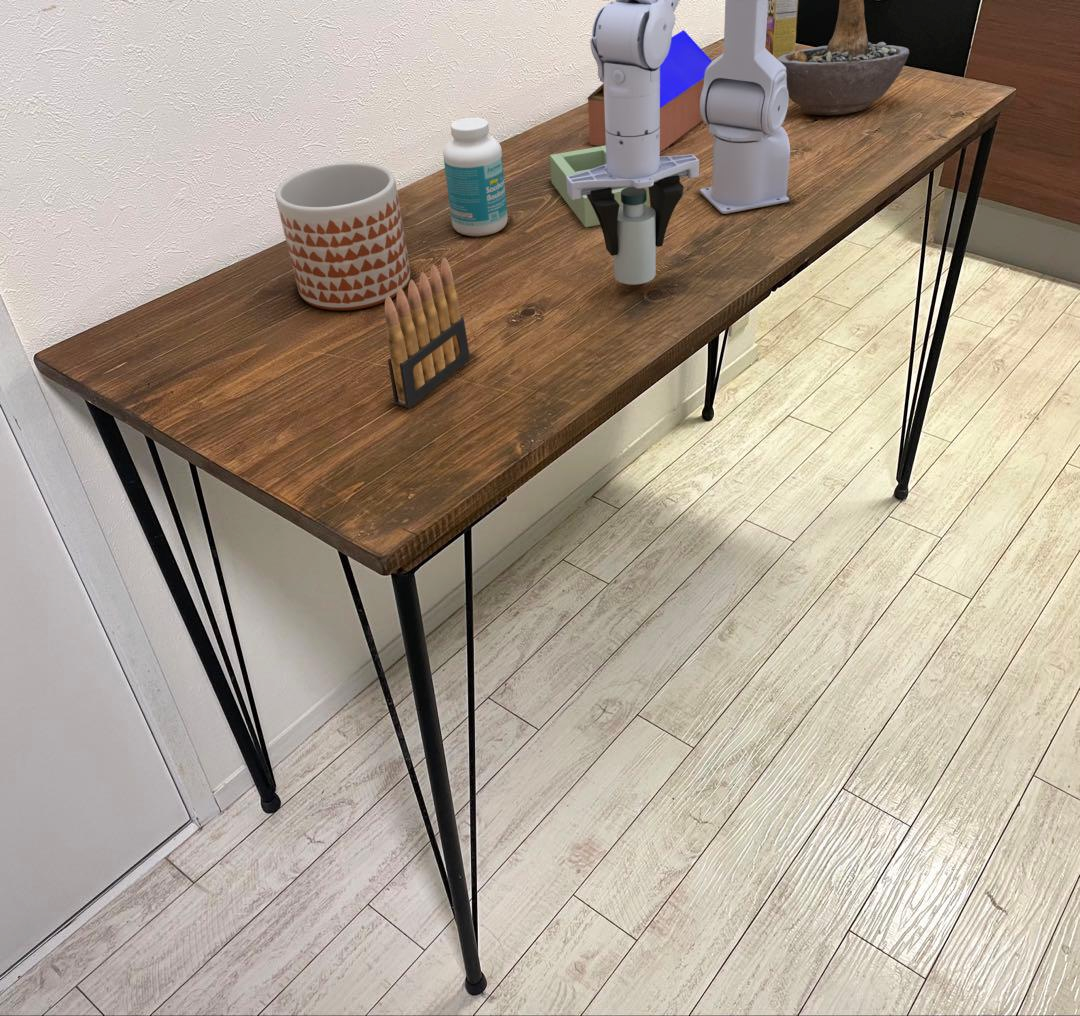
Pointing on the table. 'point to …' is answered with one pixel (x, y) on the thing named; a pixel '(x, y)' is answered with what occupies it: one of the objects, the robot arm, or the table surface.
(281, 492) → the table surface
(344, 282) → the patterned ceramic pot
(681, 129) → the house
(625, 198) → the bottle
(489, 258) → the table surface
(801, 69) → the planter
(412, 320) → the ammunition clip
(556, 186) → the tray
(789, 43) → the candy box
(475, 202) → the pill bottle
